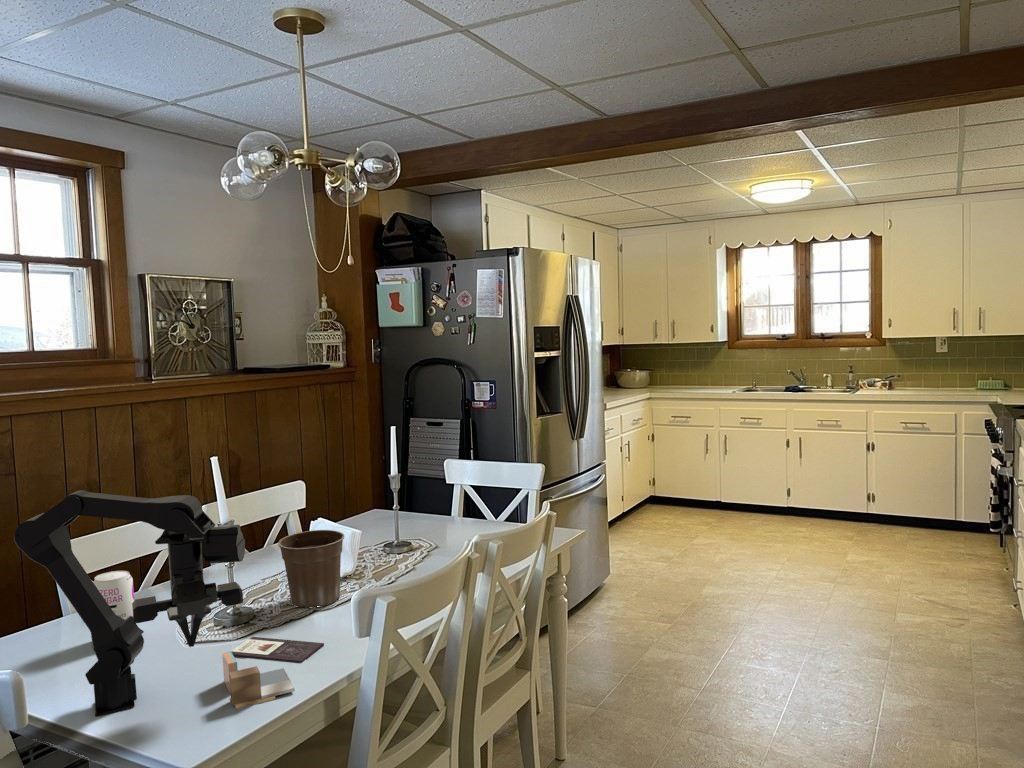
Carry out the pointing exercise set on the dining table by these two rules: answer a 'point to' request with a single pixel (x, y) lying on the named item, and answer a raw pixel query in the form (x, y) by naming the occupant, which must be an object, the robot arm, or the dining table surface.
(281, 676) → the plate
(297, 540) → the plant pot
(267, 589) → the dining table surface
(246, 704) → the rest
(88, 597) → the robot arm
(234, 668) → the tile
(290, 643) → the chocolate bar
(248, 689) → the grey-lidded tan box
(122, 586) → the supplement can
